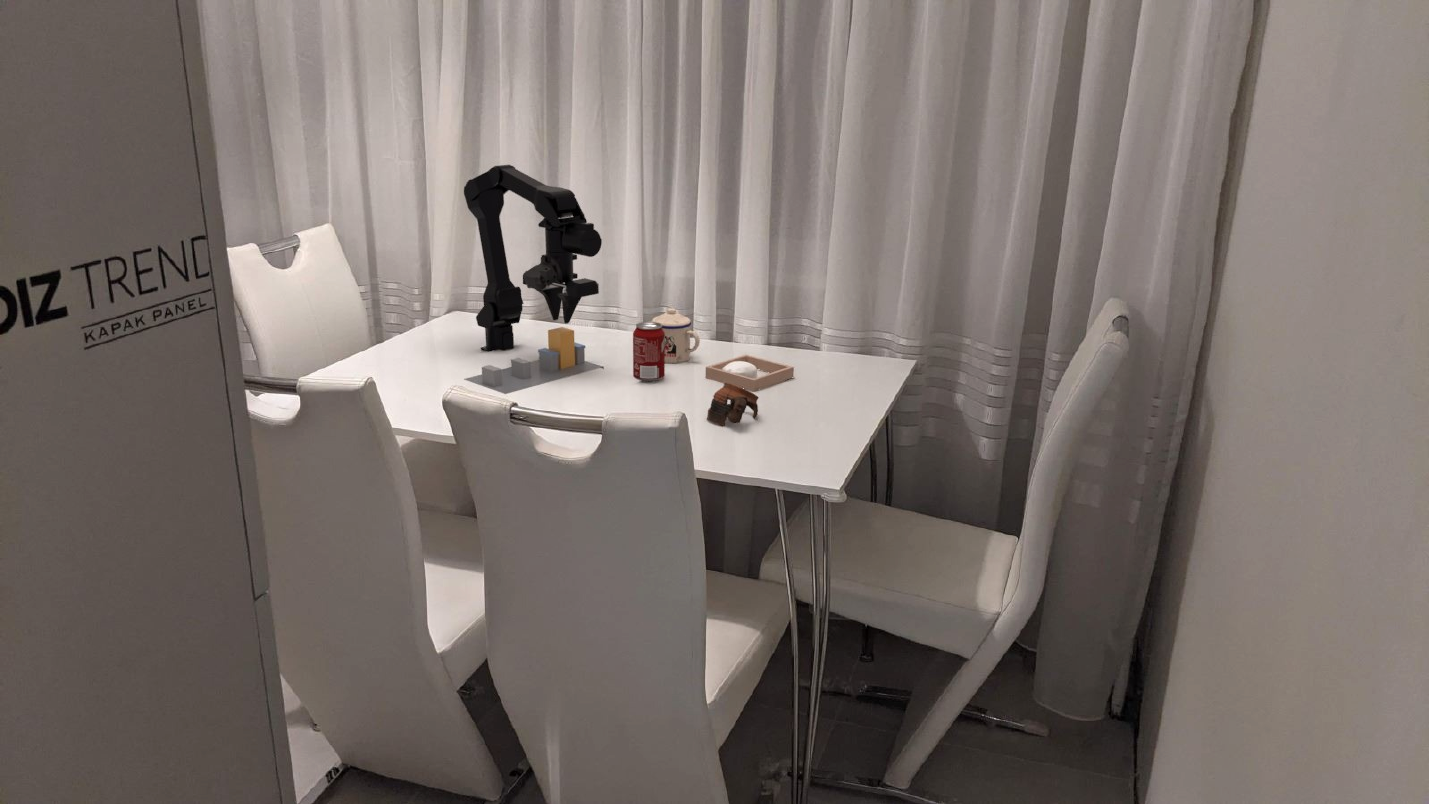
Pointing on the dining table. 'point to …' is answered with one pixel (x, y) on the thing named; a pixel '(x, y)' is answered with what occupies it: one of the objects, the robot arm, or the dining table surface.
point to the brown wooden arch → (736, 408)
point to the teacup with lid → (677, 336)
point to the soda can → (648, 352)
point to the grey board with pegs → (532, 371)
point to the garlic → (741, 369)
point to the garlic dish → (775, 376)
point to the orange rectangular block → (562, 346)
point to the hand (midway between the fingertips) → (561, 321)
